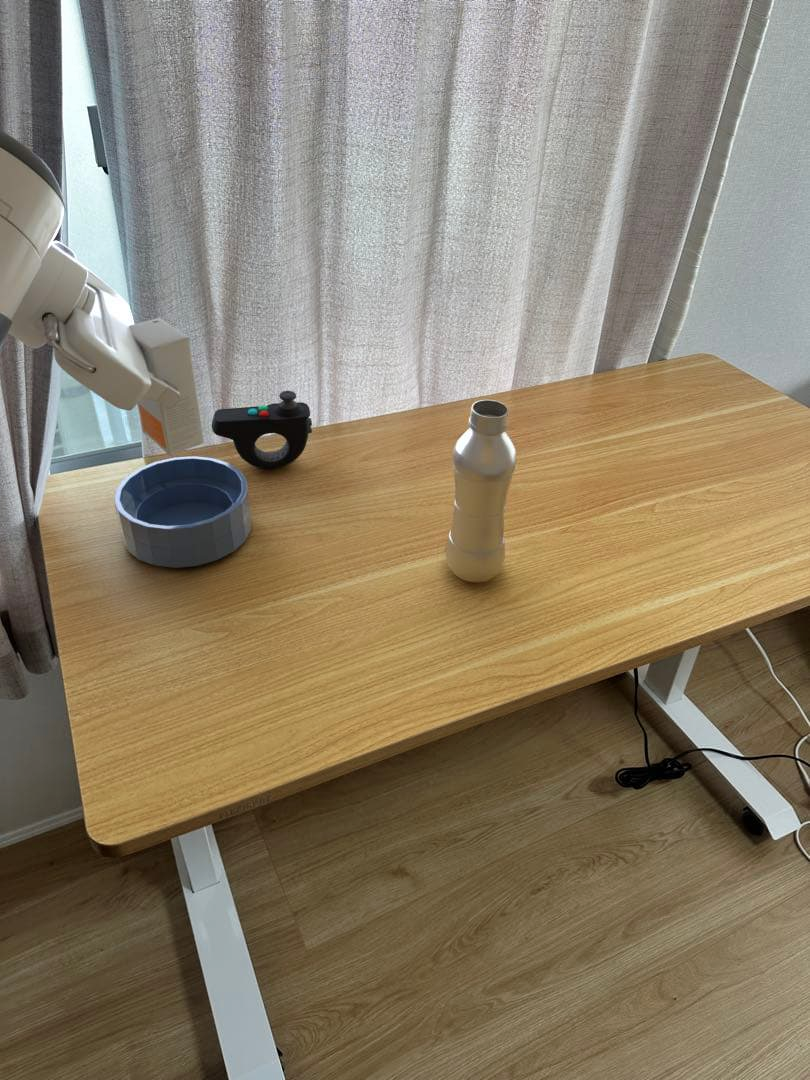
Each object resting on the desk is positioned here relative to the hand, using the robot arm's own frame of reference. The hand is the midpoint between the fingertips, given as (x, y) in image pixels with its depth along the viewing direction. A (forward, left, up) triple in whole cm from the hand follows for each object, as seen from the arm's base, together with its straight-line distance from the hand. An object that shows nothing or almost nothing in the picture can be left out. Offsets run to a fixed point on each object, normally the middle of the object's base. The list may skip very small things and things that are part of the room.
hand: (169, 381), depth 81 cm
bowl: (-1, 0, -19) cm, 19 cm away
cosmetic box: (-1, 0, -7) cm, 7 cm away
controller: (+12, +10, -19) cm, 25 cm away
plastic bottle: (+25, -20, -19) cm, 38 cm away
